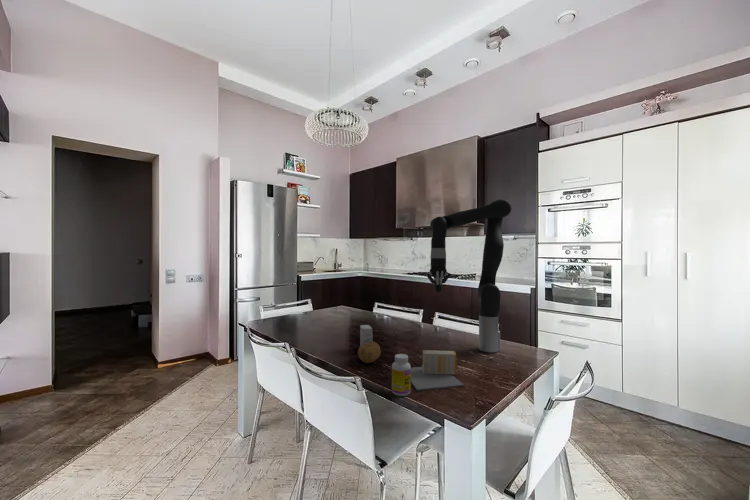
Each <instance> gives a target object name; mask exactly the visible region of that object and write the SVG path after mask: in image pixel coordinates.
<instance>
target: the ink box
mask: <svg viewBox="0 0 750 500" xmlns="http://www.w3.org/2000/svg"><path fill="white" fill-rule="evenodd" d="M359 335H360V336H359V338H360V339H359V342H360V343H359V344H360V346H359V348H360V347H361V346H362V345H363V344H366V343H368V342H370V341H373V340H374V339H373V327H372V326H371V325H369V324H361V325H359ZM373 342H374V341H373Z"/></svg>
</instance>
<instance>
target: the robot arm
mask: <svg viewBox="0 0 750 500" xmlns="http://www.w3.org/2000/svg"><path fill="white" fill-rule="evenodd" d="M510 213H512V203H510V201H509V200H507V199H503V198H502V199H501V198H499V199H496V200H494V201H491V202H490V203H489V204H486V205H483V206H479V207H476V208H475V207H474V208H470V209H465V210H461V211H456V212H453V213H451V214H448V215H443V216H437V217H434V218H433V219H432V220H431V221H430V223H429V226H430V227H429V228H430V229H431V230H432V237H431V241H430V246H431V247H430V269H429V272H427V273H425V276H426V278H427V279H428V280H429V282H430V283H432V284H434V291H435V292H436V293H441V292H442V285H444V284H446V282H447V281H448V279H449V278H450V277H451V275H452V274H451V273H449V272H448V270H447V250H446V246H447V245H446V243H447V242H446V236H447V230H448V229H451V228H457V227H462V226H465V225H469V224H472V223H475V222H479V221H482V220H486V232H485V239H484V245H483V253H482V263H481V274H480V278H479V283H478V288H477V295H478V296H479V298H480V308H479V309H478V349H479V351H481V352H485V353H497V352H500V351H501V331H500V330H499V313H500V309H501V291H500V288H499V287H498V286H497V285H496V281H497V280H496V277H497V274H498V273H497V272H498V270H499V268H500V265H501V263H502V259H503V255H504V247H505V246H504V245H505V244H504V238H503V233H502V227H503V226H502V224H503V219H504V218H506V217H507V216H509V215H510Z"/></svg>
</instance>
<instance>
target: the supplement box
mask: <svg viewBox="0 0 750 500" xmlns="http://www.w3.org/2000/svg"><path fill="white" fill-rule="evenodd" d="M422 367H423V373H424V374H452V375H457V353H456V351H455V350H431V349H430V350H429V349H428V350H425V349H424V350H423V349H422Z"/></svg>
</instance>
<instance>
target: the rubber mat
mask: <svg viewBox="0 0 750 500" xmlns="http://www.w3.org/2000/svg"><path fill="white" fill-rule="evenodd" d="M464 385H465V384H464V383H463V382H462V381H460V379H458V378H457V377H455V376H454V374H424V373H423V366H416V367H415V366H414V367H411V386H413V387H414V388H415V390H416V391H417V392H420V391H430V390H442V389H450V388H460V387H464Z"/></svg>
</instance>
